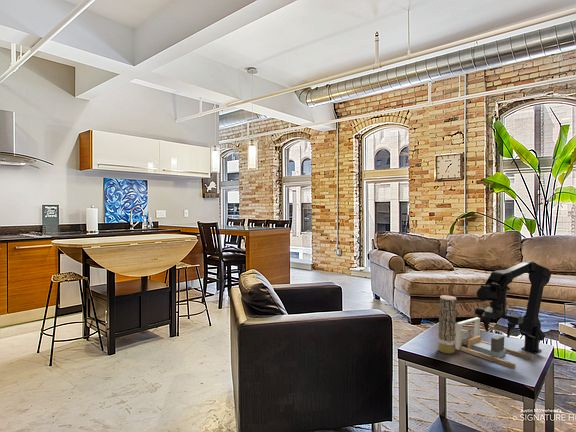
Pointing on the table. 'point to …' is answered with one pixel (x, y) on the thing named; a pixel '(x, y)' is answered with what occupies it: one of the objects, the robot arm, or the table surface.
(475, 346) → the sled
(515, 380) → the table surface
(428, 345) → the table surface
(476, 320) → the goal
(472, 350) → the rails
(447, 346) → the bark log
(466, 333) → the game die
